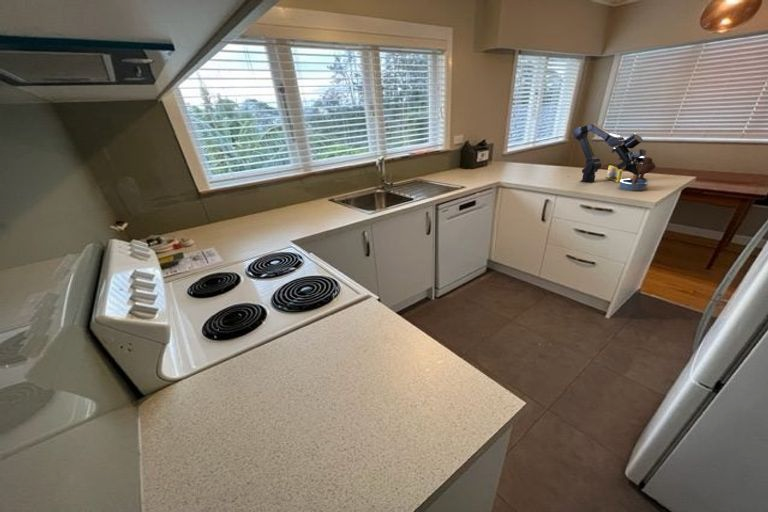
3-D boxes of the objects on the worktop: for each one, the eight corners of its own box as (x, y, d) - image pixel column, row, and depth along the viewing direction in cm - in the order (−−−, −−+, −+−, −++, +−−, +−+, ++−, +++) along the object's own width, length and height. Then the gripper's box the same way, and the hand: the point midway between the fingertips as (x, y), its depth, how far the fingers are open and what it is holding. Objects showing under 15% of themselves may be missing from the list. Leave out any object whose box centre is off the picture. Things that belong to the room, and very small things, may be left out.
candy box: (605, 177, 213) (608, 165, 209) (609, 177, 213) (612, 165, 209) (616, 182, 199) (619, 169, 195) (620, 182, 198) (623, 169, 195)
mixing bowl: (613, 188, 186) (615, 181, 184) (626, 185, 191) (628, 178, 189) (638, 192, 175) (640, 185, 173) (650, 188, 180) (653, 181, 178)
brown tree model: (655, 180, 195) (663, 157, 188) (638, 182, 195) (644, 158, 189) (643, 177, 204) (650, 154, 197) (626, 178, 205) (632, 156, 198)
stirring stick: (629, 185, 182) (635, 163, 176) (629, 183, 185) (635, 162, 179) (638, 185, 179) (645, 163, 174) (638, 184, 182) (644, 162, 177)
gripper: (628, 146, 172) (643, 168, 168) (647, 142, 178) (662, 163, 174) (610, 159, 182) (624, 180, 178) (629, 155, 188) (643, 175, 184)
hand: (639, 174), depth 178 cm, fingers closed on stirring stick, 2 cm apart
